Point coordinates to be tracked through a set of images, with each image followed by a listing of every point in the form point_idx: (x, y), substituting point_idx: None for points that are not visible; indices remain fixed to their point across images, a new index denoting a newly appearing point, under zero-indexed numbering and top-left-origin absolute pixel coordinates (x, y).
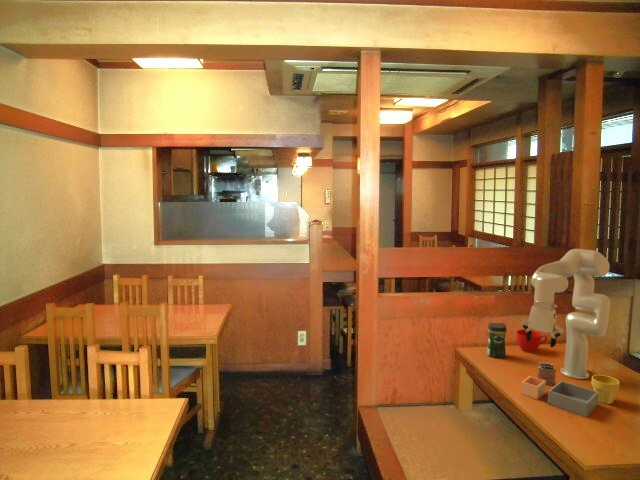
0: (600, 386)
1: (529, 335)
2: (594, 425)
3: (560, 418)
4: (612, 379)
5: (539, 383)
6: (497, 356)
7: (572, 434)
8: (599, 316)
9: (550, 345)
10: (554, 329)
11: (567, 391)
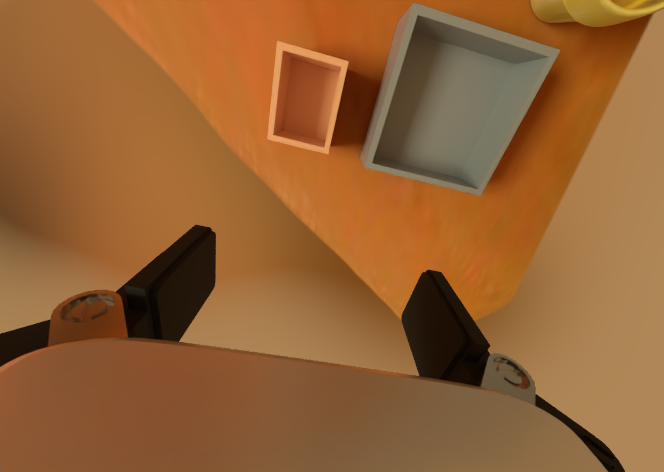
0: (594, 20)
1: (185, 318)
2: (470, 213)
3: (394, 223)
4: None
5: (323, 64)
6: None
7: (415, 276)
8: None
9: (405, 328)
10: (568, 432)
11: (428, 32)
